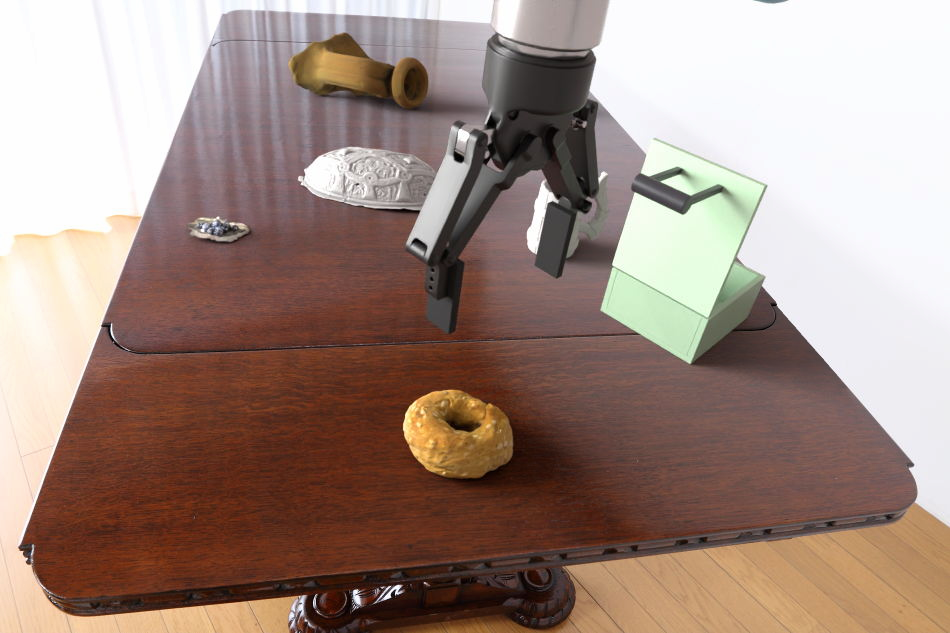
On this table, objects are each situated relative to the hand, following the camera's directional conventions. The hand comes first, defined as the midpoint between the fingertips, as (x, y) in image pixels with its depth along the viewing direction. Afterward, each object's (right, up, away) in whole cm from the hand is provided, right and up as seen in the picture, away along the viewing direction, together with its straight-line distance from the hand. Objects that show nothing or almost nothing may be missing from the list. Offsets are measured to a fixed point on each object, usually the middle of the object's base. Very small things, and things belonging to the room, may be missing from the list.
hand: (497, 296), depth 59 cm
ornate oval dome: (-18, +19, +51) cm, 58 cm away
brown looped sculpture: (-26, +43, +82) cm, 96 cm away
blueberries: (-37, +10, +35) cm, 52 cm away
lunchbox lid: (+22, +8, +19) cm, 30 cm away
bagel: (-4, -15, +9) cm, 18 cm away
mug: (+11, +9, +43) cm, 45 cm away
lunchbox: (+25, -1, +32) cm, 41 cm away
